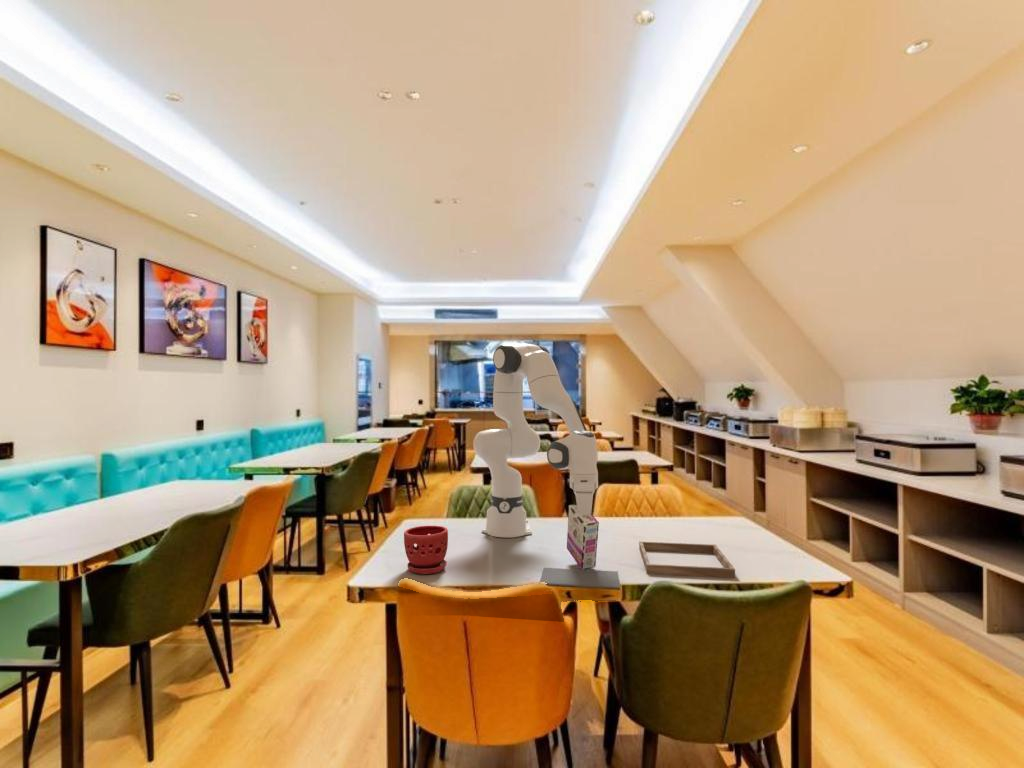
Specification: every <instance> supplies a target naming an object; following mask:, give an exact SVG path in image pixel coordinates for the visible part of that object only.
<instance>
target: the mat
mask: <svg viewBox="0 0 1024 768" xmlns="http://www.w3.org/2000/svg"><path fill="white" fill-rule="evenodd" d="M540 582H545V583H547V584H549V585H548V586H559V587H576V588H577V587H578V588H593V589H613V590H614V589H615V590H621V585H620V577H619V571H614V570H599V569H598V570H597V569H585V570H581V568H580V569H577V568H558V567H543V569H542V572H541V577H540V581H539V583H540Z"/></svg>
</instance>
